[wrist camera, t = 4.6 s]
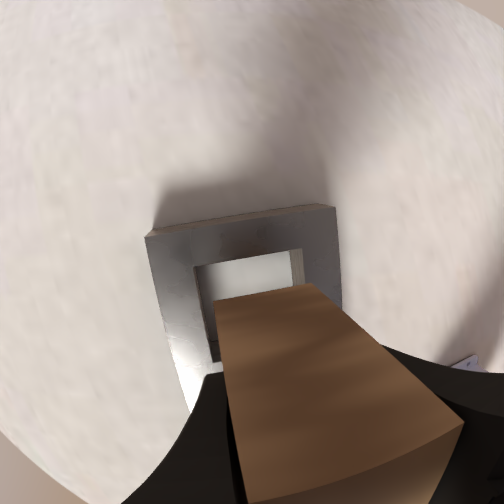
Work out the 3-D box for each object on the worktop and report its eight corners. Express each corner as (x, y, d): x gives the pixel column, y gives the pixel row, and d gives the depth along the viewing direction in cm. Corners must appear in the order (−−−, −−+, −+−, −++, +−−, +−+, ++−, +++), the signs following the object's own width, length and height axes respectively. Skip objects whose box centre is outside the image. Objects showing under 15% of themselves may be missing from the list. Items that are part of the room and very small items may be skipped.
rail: (317, 203, 18) (337, 206, 15) (327, 488, 24) (336, 507, 22) (151, 229, 17) (143, 237, 14) (233, 509, 23) (237, 530, 20)
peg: (311, 282, 13) (464, 421, 4) (316, 364, 14) (420, 517, 5) (212, 301, 12) (248, 503, 4) (229, 383, 13) (272, 569, 5)
